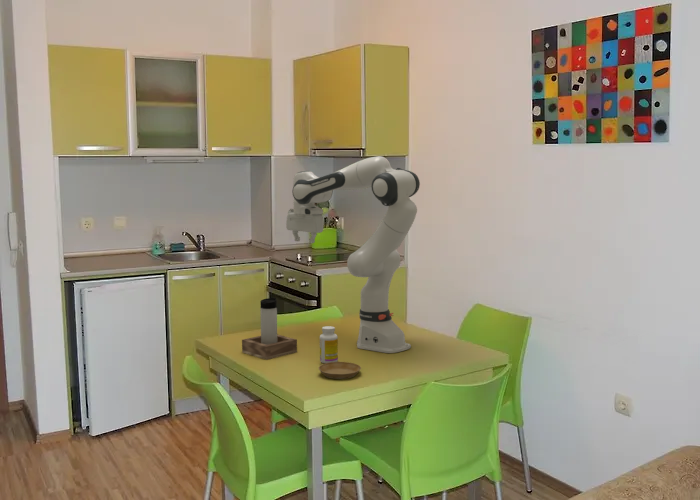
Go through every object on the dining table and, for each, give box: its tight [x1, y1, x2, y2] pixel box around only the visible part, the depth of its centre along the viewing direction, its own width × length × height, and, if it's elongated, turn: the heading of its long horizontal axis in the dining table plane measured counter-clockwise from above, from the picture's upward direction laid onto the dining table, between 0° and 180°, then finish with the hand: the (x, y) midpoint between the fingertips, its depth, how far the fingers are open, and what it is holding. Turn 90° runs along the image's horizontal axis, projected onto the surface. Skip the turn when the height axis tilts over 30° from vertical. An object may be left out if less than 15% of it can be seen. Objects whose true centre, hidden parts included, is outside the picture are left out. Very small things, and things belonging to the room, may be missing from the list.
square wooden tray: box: [241, 333, 298, 360], centre depth 278 cm, size 15×15×5 cm
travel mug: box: [260, 296, 278, 345], centre depth 277 cm, size 6×7×20 cm
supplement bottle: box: [319, 325, 339, 364], centre depth 264 cm, size 7×7×13 cm
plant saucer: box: [318, 361, 362, 380], centre depth 250 cm, size 15×15×3 cm
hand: (304, 242), depth 306 cm, fingers open, 8 cm apart
